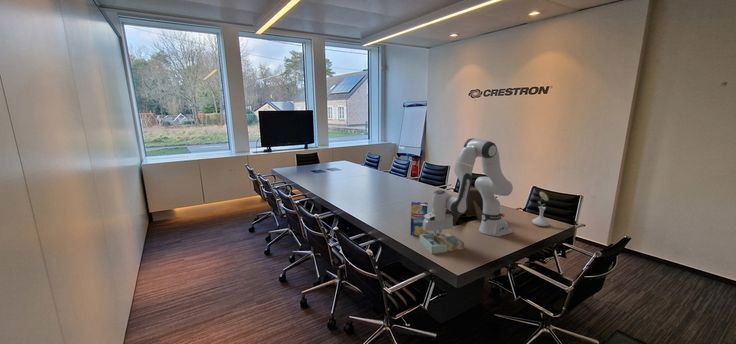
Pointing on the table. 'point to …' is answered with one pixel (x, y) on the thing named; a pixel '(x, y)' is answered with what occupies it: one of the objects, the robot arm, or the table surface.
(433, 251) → the tray
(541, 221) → the flower in vase
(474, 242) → the table surface
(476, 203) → the photo frame
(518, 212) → the table surface
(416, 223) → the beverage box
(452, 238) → the tile
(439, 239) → the beige shallow box
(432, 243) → the tile
